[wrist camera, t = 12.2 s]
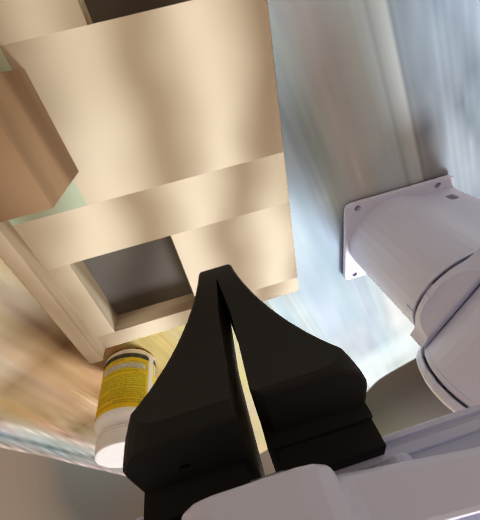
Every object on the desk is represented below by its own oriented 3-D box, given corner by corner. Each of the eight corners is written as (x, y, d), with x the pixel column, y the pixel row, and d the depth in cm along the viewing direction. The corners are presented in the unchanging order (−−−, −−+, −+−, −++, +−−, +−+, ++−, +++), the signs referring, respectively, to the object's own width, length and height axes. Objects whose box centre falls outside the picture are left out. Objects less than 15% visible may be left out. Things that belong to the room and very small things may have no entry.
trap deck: (225, -248, 12) (242, -334, 9) (290, 276, 28) (303, 299, 25) (-265, -154, 11) (-402, -221, 8) (97, 334, 27) (90, 364, 24)
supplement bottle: (94, 361, 28) (72, 458, 22) (137, 339, 28) (129, 431, 21) (126, 384, 31) (116, 476, 24) (165, 365, 31) (167, 453, 24)
